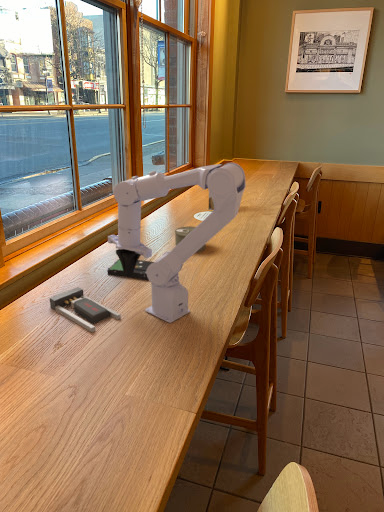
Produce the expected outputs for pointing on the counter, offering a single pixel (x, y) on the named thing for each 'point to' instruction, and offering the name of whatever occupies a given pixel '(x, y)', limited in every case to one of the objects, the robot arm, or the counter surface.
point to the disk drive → (137, 274)
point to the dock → (65, 300)
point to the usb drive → (90, 310)
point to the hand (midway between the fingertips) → (128, 274)
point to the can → (183, 232)
